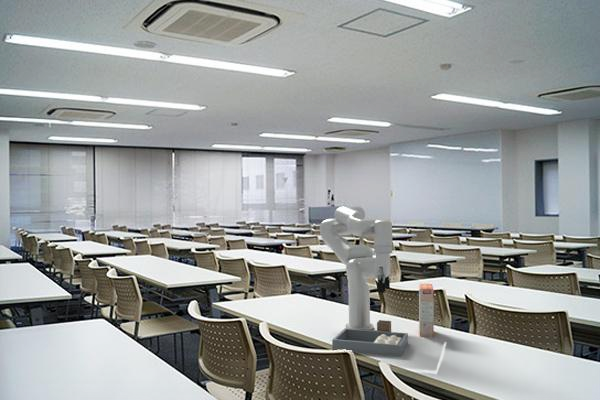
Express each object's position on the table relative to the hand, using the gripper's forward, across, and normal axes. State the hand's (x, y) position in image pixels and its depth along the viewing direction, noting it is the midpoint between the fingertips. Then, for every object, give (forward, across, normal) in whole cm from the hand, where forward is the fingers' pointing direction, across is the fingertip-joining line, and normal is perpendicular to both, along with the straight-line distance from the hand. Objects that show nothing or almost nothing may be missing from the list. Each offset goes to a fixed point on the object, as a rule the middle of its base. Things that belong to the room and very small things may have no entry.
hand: (383, 290), depth 219 cm
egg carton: (+19, +17, +5) cm, 26 cm away
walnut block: (+20, 0, 0) cm, 20 cm away
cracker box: (+20, -12, +16) cm, 29 cm away
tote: (+20, +17, -2) cm, 26 cm away
